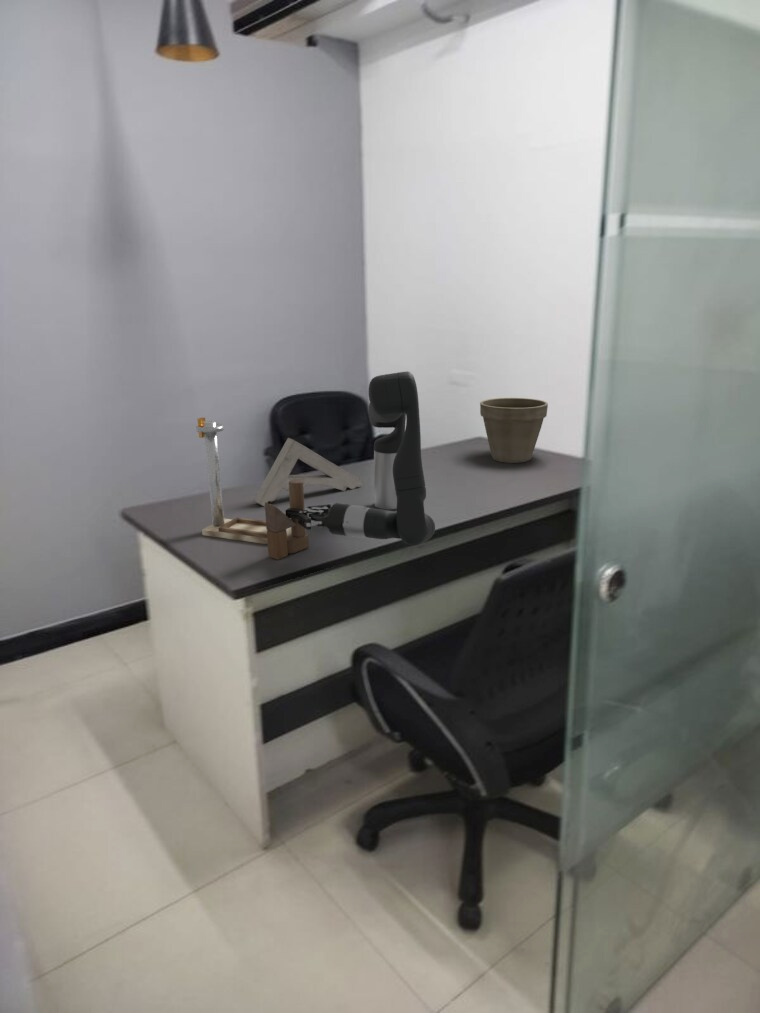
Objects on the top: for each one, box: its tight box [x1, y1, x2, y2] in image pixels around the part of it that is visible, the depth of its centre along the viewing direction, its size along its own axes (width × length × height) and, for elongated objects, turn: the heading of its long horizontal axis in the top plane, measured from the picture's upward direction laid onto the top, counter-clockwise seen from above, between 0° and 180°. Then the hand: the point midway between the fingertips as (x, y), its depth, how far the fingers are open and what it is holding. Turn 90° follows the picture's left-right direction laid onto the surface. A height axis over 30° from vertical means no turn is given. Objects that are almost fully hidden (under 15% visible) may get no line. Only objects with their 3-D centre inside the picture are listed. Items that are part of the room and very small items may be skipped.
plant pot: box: [479, 397, 549, 464], centre depth 257 cm, size 25×25×22 cm
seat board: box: [201, 517, 292, 545], centre depth 184 cm, size 24×10×2 cm, turn 69°
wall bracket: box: [253, 437, 364, 508], centre depth 217 cm, size 22×4×30 cm
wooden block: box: [264, 479, 310, 561], centre depth 169 cm, size 4×11×18 cm, turn 139°
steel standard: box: [196, 417, 225, 527], centre depth 183 cm, size 7×7×31 cm
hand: (287, 512), depth 169 cm, fingers closed
